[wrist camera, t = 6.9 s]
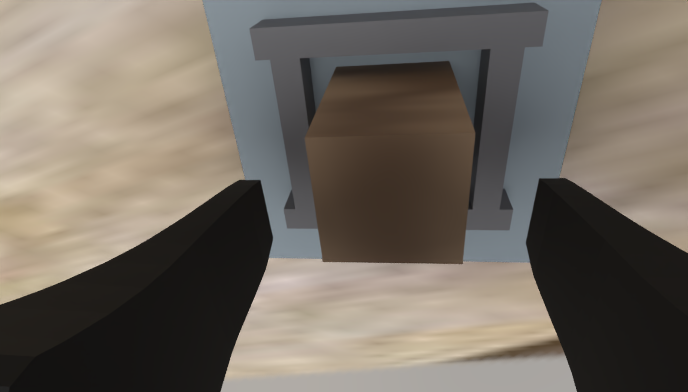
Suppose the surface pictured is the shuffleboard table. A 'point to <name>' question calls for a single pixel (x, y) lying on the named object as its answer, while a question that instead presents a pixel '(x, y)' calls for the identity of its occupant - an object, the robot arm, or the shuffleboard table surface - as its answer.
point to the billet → (391, 164)
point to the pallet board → (406, 47)
